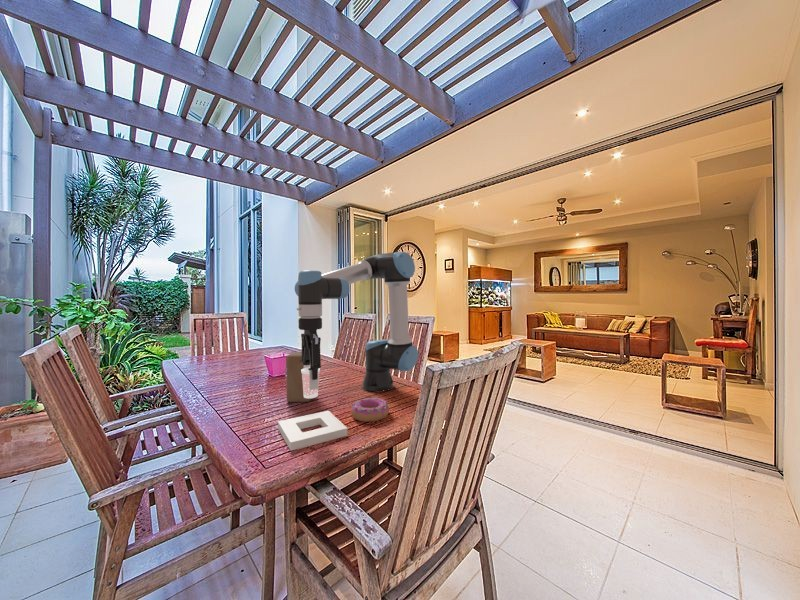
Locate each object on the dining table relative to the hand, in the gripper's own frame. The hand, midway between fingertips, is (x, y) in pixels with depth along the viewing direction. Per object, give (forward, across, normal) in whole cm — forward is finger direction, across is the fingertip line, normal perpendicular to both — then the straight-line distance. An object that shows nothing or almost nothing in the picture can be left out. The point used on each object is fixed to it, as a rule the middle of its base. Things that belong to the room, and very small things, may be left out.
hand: (310, 386), depth 105 cm
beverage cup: (+3, 0, 0) cm, 3 cm away
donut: (+16, -2, +23) cm, 28 cm away
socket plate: (+15, 0, 0) cm, 15 cm away
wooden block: (+16, -35, +6) cm, 39 cm away
